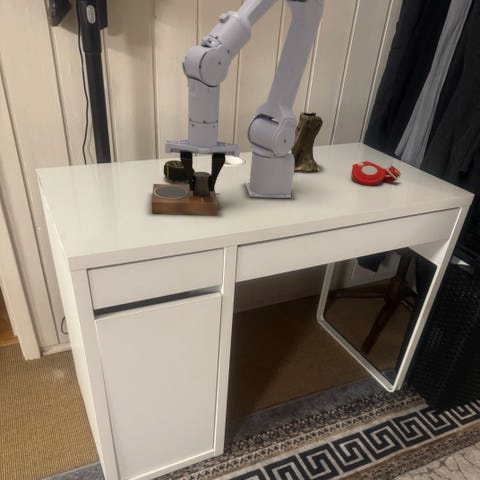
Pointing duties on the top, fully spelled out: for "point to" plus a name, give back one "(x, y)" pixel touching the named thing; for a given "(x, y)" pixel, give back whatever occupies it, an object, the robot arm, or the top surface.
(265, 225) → the top surface
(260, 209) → the top surface
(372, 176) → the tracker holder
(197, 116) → the robot arm
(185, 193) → the heating plate
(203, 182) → the dial
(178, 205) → the warmer
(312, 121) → the tree stump
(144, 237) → the top surface
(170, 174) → the tape measure
